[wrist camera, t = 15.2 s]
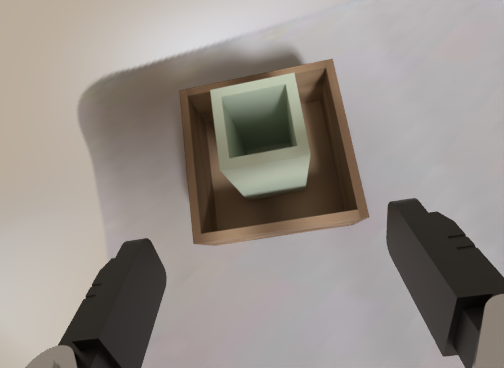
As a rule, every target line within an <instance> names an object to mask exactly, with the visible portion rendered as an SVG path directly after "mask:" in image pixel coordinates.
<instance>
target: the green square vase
mask: <svg viewBox="0 0 504 368" xmlns="http://www.w3.org/2000/svg"><path fill="white" fill-rule="evenodd" d="M210 93H211V101H212V109H213V118H214V126H215V134H216V142H217V150H218V159H219V167H220V171H221V172H222V173H223V174H224V175H225V177H226V178H227V179H228V180H229V181H230V182H231V183H232V184H233V185H234V186H235V187H236V188H237V189H238V191H239V192H240V193H241V194H242V195H243V196H244V197H245V198H246V199H247V200H253V199H259V198H265V197H271V196H277V195H283V194H289V193H295V192H301V191H305V188H306V182H307V175H308V168H309V162H310V155H311V154H310V149H309V144H308V139H307V134H306V129H305V124H304V119H303V114H302V109H301V103H300V98H299V93H298V88H297V83H296V78H295V73H290V74H285V75H280V76H275V77H271V78H266V79H261V80H256V81H251V82H247V83H242V84H237V85H232V86H227V87H223V88H218V89H213V90H210Z"/></svg>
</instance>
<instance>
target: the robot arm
mask: <svg viewBox="0 0 504 368" xmlns="http://www.w3.org/2000/svg"><path fill="white" fill-rule="evenodd" d="M386 239H387V246H388V250H389V253H390V256H391V258H392V260H393V262H394V264H395V266H396V268H397V269H398V271H399V273H400V275H401V277H402V279H403V281H404V283H405V285H406V287H407V289H408V291H409V292H410V294H411V296H412V298H413V300H414V302H415V304H416V306H417V308H418V310H419V312H420V313H421V315H422V317H423V319H424V321H425V323H426V325H427V327H428V329H429V331H430V333H431V334H432V336H433V338H434V340H435V342H436V344H437V346H438V348H439V350H440V352H441V354H442V355H443V356H453V355H459V357H460V359H461V361H462V362H463V364H464V366H465V368H504V277H503V276H502V275H501V274H500V273H499V272H498V270H497V269H496V268H495V267H494V266H493V265H492V264H491V263H490V261H489V260H488V259H487V258H486V257H485V256H484V255H483V254H482V252H481V251H480V250H479V249H478V248H476V247H475V244H474V243H473V242H472V241H471V240H470V239H469V238H468V237H466V235H465V233H464V232H463V231H462V230H461V229H460V228H459V226H458V225H457V224H456V223H455V222H454V221H453V220H451V219H449V218H447V217H446V216H444V215H442V214H441V213H439V212H431V213H428V212H427V211H426V209H425V208H424V207H423V206H422V204H421V203H420V202H419V201H418V200H417V199H416V198H412V199H405V200H399V201H392V202H389V204H388V214H387V236H386ZM165 287H166V272H165V268H164V266H163V264H162V262H161V260H160V258H159V256H158V254H157V252H156V250H155V248H154V246H153V244H152V242H151V241H150V240H149V239H148V238H145V239H139V240H132V241H126V242H124V243H123V245H122V246H121V248H120V250H119V252H118V254H117V256H116V258H112V259H111V260H110V261H109V262H108V263H107V264H106V265H105V266H104V267H103V268H102V269H101V270H100V271H99V273H98V275H97V276H96V278H95V280H94V282H93V284H92V287H91V288H90V289H89V291H88V293H87V295H86V299H84V300H83V301H82V303H81V305H80V307H79V309H78V311H77V312H76V314H75V316H74V318H73V319H72V321H71V323H70V325H69V326H68V328H67V330H66V332H65V334H64V336H63V337H62V339H61V341H60V343H59V344H58V346H55V347H52V348H50V349H48V350H46V351H44V352H42V353H41V354H40V355H38V356H37V357H36V358H34V359H33V360H32V361H31V362H30V363H29V364H28V365H27V366H26V367H25V368H141V366H142V363H143V360H144V356H145V353H146V350H147V346H148V343H149V340H150V336H151V333H152V330H153V327H154V323H155V320H156V317H157V313H158V310H159V307H160V303H161V300H162V297H163V294H164V290H165Z"/></svg>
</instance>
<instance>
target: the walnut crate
mask: <svg viewBox="0 0 504 368" xmlns="http://www.w3.org/2000/svg"><path fill="white" fill-rule="evenodd" d="M290 73H295V78H296V83H297V88H298V93H299V98H300V103H301V109H302V114H303V119H304V124H305V129H306V134H307V139H308V144H309V149H310V154H311V155H310V162H309V168H308V175H307V182H306V188H305V191H301V192H295V193H289V194H283V195H277V196H271V197H265V198H259V199H253V200H247V199H246V198H245V197H244V196H243V195H242V194H241V193H240V192H239V191H238V189H237V188H236V187H235V186H234V185H233V184H232V183H231V182H230V181H229V180H228V179H227V178H226V177H225V175H224V174H223V173H222V172H221V171H220V167H219V159H218V150H217V142H216V134H215V126H214V118H213V109H212V101H211V93H210V90H213V89H218V88H223V87H227V86H232V85H237V84H242V83H247V82H251V81H256V80H261V79H266V78H271V77H275V76H280V75H285V74H290ZM179 92H180V103H181V114H182V124H183V135H184V146H185V157H186V168H187V179H188V190H189V200H190V211H191V222H192V233H193V244H202V245H222V244H228V243H235V242H242V241H248V240H255V239H262V238H268V237H275V236H282V235H288V234H295V233H302V232H308V231H315V230H322V229H328V228H335V227H342V226H348V225H354V224H356V223H358V222H360V221H362V220H364V219H366V218H368V217H369V214H368V209H367V205H366V201H365V196H364V192H363V188H362V184H361V179H360V175H359V171H358V166H357V162H356V158H355V153H354V149H353V145H352V140H351V136H350V132H349V128H348V123H347V119H346V115H345V110H344V106H343V102H342V97H341V93H340V89H339V85H338V80H337V76H336V72H335V67H334V63H333V59H329V60H324V61H319V62H315V63H310V64H305V65H300V66H295V67H291V68H286V69H281V70H276V71H271V72H267V73H262V74H257V75H252V76H247V77H242V78H238V79H233V80H228V81H223V82H218V83H214V84H209V85H204V86H199V87H194V88H190V89H185V90H180V91H179Z"/></svg>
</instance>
